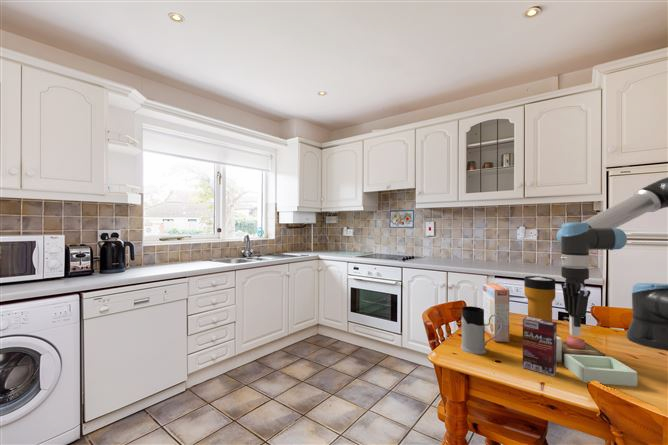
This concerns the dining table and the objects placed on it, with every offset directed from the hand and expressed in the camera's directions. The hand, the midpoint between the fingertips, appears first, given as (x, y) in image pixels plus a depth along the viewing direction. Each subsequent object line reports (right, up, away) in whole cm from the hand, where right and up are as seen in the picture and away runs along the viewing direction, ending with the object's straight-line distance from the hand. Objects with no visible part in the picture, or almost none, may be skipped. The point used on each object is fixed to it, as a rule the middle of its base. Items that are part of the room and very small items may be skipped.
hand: (575, 334), depth 106 cm
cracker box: (-16, -9, +21) cm, 28 cm away
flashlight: (-4, -9, +13) cm, 16 cm away
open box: (-10, -8, +1) cm, 13 cm away
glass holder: (-29, -9, +8) cm, 31 cm away
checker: (0, -8, 0) cm, 8 cm away
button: (0, -4, 0) cm, 4 cm away
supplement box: (-18, -9, -8) cm, 21 cm away
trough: (-2, -8, -12) cm, 15 cm away
